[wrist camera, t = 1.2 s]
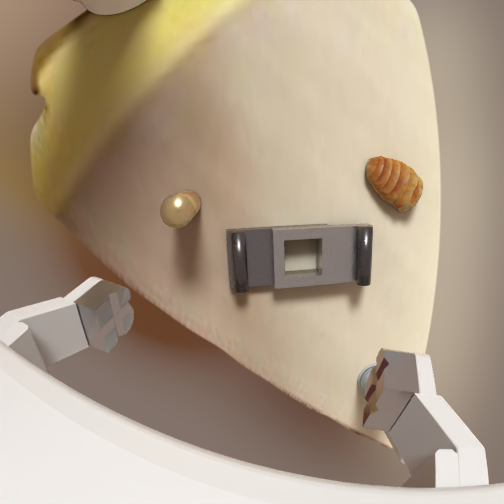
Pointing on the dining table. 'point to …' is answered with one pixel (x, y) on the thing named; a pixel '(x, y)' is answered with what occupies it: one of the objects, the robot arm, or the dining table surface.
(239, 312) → the dining table surface
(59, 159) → the dining table surface
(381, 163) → the pastry
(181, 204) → the gold rounded cylinder
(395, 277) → the dining table surface
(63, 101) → the dining table surface
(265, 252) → the grey roller block
